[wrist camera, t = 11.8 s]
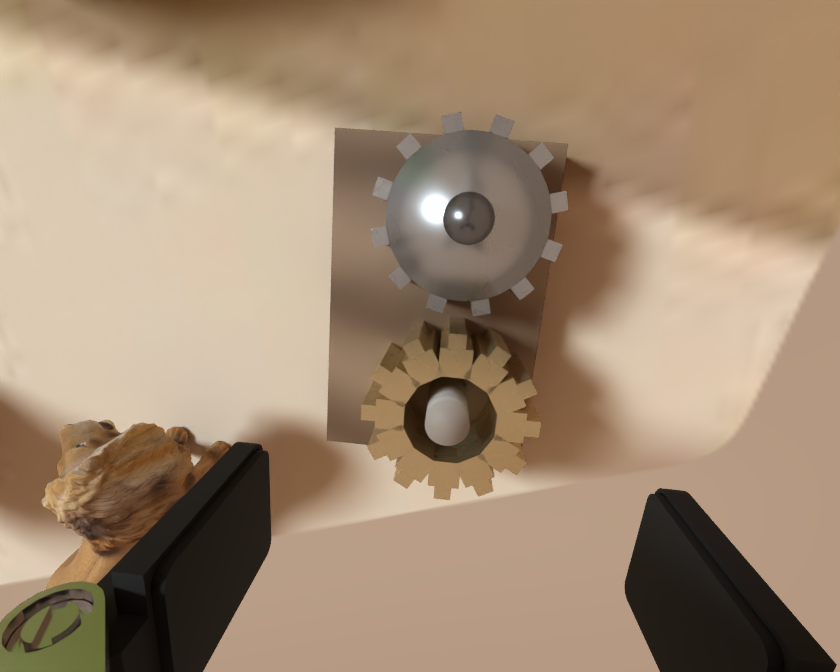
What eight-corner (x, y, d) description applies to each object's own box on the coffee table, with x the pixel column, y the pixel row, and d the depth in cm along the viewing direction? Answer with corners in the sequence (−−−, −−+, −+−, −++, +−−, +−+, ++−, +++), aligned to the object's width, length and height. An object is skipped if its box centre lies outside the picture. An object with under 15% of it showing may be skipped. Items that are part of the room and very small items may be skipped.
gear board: (346, 138, 20) (303, 98, 14) (556, 152, 19) (601, 117, 14) (336, 423, 24) (299, 485, 18) (513, 442, 23) (534, 512, 17)
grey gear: (367, 152, 18) (343, 128, 14) (539, 114, 17) (566, 78, 13) (400, 315, 20) (386, 337, 16) (557, 289, 19) (587, 304, 15)
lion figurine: (170, 359, 23) (4, 434, 15) (256, 399, 24) (143, 496, 15) (108, 552, 27) (-55, 703, 18) (183, 585, 27) (57, 750, 19)
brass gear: (379, 310, 20) (364, 326, 16) (535, 323, 19) (554, 342, 16) (372, 449, 22) (357, 489, 18) (515, 464, 21) (527, 508, 18)
